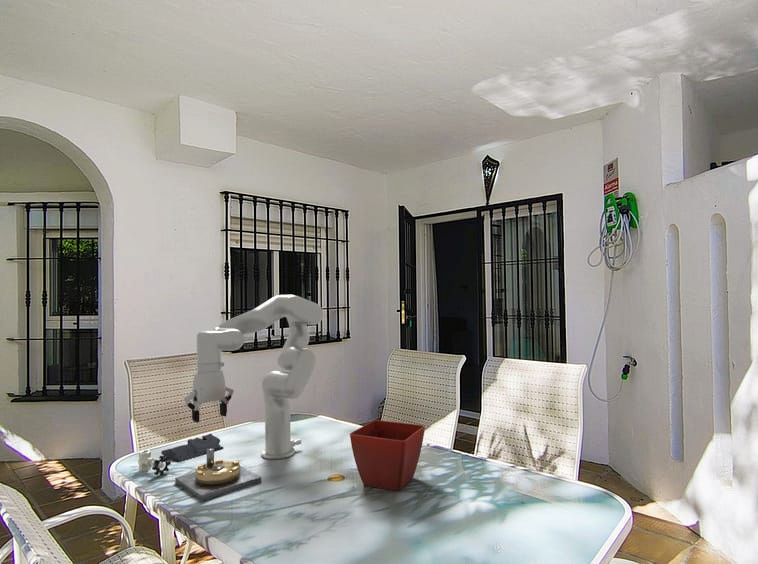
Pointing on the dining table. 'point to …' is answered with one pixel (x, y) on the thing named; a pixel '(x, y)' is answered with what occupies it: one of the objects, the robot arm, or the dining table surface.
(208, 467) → the brass crank wheel
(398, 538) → the dining table surface
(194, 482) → the housing
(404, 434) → the plant pot
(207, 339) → the robot arm
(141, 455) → the valve
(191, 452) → the dark slate chunk
